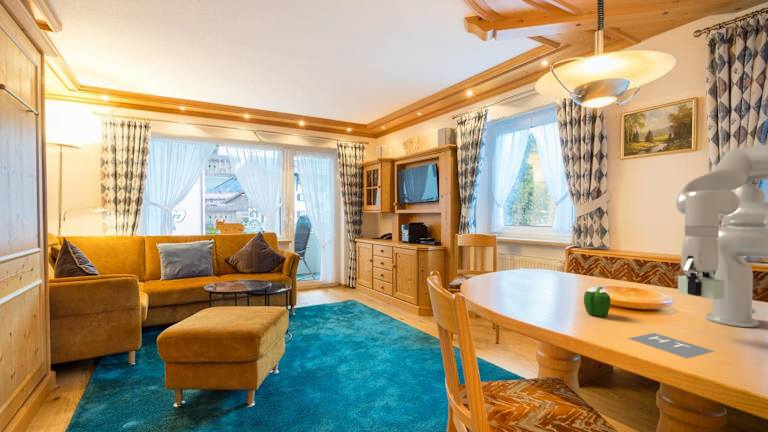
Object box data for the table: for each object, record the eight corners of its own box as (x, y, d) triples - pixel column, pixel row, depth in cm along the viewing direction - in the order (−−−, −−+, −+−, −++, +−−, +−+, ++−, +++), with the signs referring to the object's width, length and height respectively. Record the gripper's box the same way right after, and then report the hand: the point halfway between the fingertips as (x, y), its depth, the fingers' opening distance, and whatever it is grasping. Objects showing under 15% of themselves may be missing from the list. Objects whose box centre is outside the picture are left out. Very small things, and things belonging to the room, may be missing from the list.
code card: (654, 333, 109) (654, 332, 109) (715, 351, 95) (715, 351, 95) (627, 339, 105) (627, 338, 105) (686, 359, 91) (686, 358, 91)
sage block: (687, 291, 111) (688, 275, 111) (724, 297, 103) (724, 280, 103) (677, 292, 110) (678, 276, 110) (713, 299, 101) (714, 281, 101)
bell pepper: (596, 319, 123) (596, 290, 122) (578, 312, 131) (578, 285, 131) (617, 317, 124) (617, 289, 124) (598, 311, 132) (599, 284, 132)
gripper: (703, 231, 113) (702, 289, 113) (668, 232, 106) (667, 293, 107) (734, 232, 106) (732, 294, 106) (698, 233, 99) (697, 299, 100)
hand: (700, 293), depth 106 cm, fingers closed on sage block, 5 cm apart
